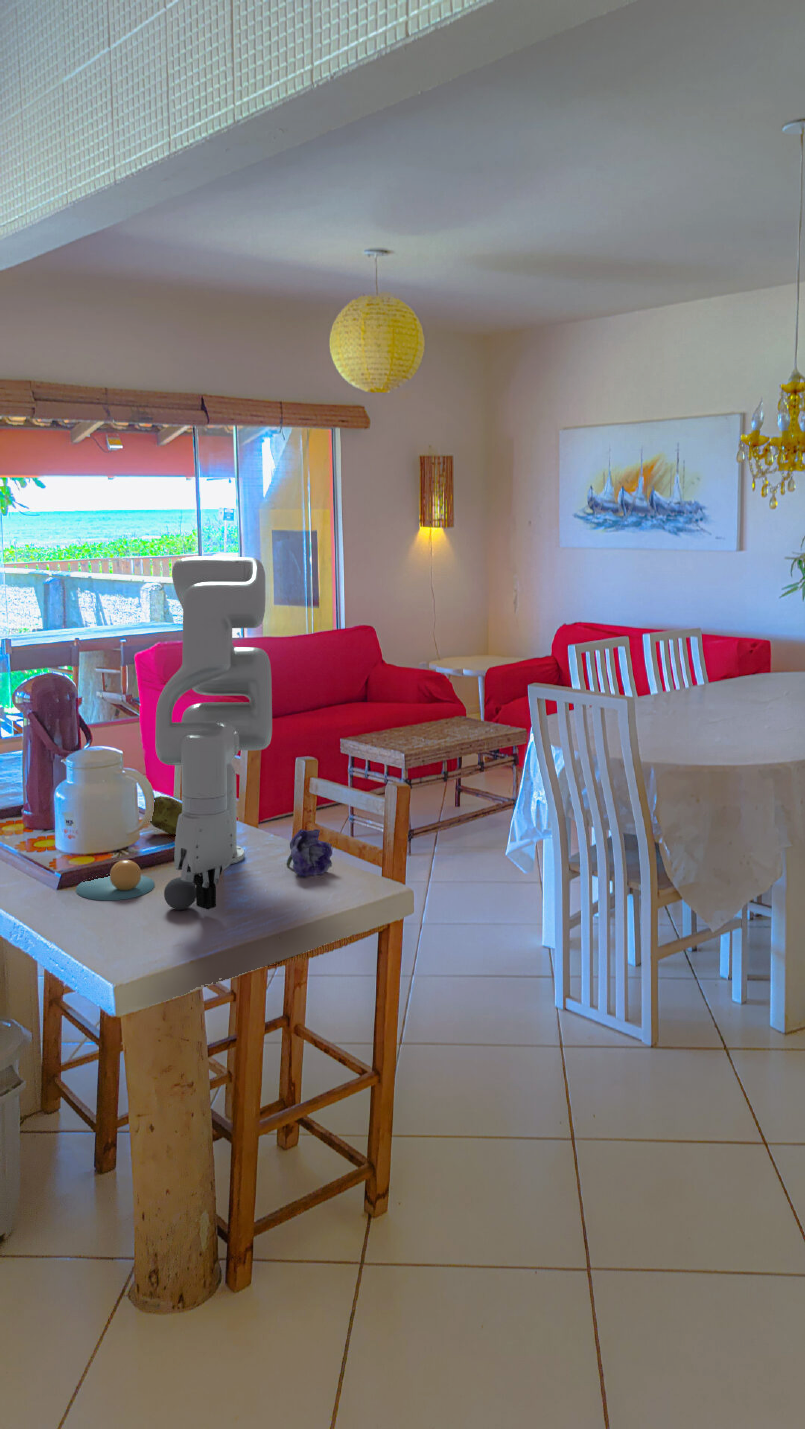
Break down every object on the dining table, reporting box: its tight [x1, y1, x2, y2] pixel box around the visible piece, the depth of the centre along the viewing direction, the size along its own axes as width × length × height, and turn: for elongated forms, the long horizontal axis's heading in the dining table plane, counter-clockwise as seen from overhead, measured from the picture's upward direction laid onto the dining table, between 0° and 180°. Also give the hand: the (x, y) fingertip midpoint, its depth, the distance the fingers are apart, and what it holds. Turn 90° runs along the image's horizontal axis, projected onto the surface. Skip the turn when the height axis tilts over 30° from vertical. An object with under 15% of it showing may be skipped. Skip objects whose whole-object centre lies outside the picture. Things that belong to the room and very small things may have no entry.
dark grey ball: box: [163, 876, 196, 911], centre depth 187 cm, size 6×6×6 cm
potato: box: [149, 795, 182, 835], centre depth 230 cm, size 8×13×8 cm, turn 71°
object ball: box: [109, 859, 142, 891], centre depth 196 cm, size 6×6×6 cm
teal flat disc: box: [75, 874, 156, 902], centre depth 197 cm, size 14×14×1 cm
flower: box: [286, 828, 333, 878], centre depth 207 cm, size 9×9×10 cm
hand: (206, 906), depth 185 cm, fingers closed
